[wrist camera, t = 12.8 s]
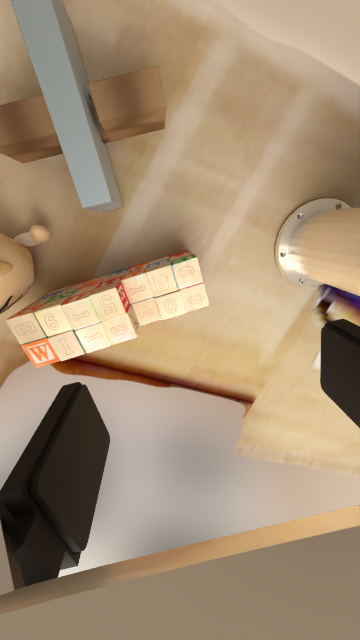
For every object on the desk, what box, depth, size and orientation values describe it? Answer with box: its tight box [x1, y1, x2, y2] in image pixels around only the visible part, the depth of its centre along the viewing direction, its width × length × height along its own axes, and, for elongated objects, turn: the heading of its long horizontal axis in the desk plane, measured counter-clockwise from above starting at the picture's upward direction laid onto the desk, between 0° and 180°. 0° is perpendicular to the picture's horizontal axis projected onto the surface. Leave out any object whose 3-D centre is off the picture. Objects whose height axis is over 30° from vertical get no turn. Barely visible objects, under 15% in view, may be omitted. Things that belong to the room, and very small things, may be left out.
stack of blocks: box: [6, 251, 209, 368], centre depth 31 cm, size 21×6×12 cm, turn 106°
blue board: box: [10, 0, 124, 212], centre depth 24 cm, size 18×3×9 cm, turn 12°
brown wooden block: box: [0, 66, 166, 163], centre depth 26 cm, size 18×3×6 cm, turn 102°
